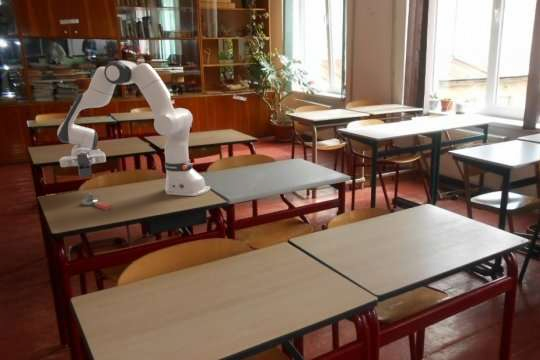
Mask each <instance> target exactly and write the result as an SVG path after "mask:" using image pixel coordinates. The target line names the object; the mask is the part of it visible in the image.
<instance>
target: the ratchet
mask: <svg viewBox="0 0 540 360" xmlns="http://www.w3.org/2000/svg"><path fill="white" fill-rule="evenodd" d="M85 196H86V197H85V198H84V199H82V200H81V204H82V206H83V207H90V206H92V207H95V208H99V209H101V210H104V211H107V210H108V211H109V210H111V209H112V208H113V207H112V204H109V203H106V202H102V201H99V198H98V197H94V195H93V192H89V193H85Z"/></svg>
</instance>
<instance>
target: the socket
mask: <svg viewBox="0 0 540 360" xmlns="http://www.w3.org/2000/svg"><path fill="white" fill-rule="evenodd" d="M77 160H78V166H77V168H78V175H79V177H80V178H86V177H93V171H92V166H91V165H92V164H90V158H89V153H81V154H77Z"/></svg>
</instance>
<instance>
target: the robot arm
mask: <svg viewBox="0 0 540 360" xmlns="http://www.w3.org/2000/svg"><path fill="white" fill-rule="evenodd" d="M133 84H135V85H136V86H137V87H138V89H139V90H140V92H141V94H142V95H143V97H144V98H145V100H146V102H147V103H148V105H149V107H150V109H151V112H152V114H153V118H154V121H153V127H154V130H155V131H156V132H157V133H158V135H161V136H167V138H166V141H165V143H164V158H165V161H164V168H165V172H166V176H165V177H166V178H165V188H164V191H165V194H166V195H169V196H171V195H172V196H186V197H187V196H188V197H197V196H200V195H203V194H206V193H207V192H210V190H211V186H209V185H206V181H205V178H204V177H203V176H202V175H201V174H200V173H198V171H197V170H195V169H194V168H193V166H194V165H195V163H194V162H192V163H191V161H190V159H189V139H190V130H191V125H192V124H193V120H194V118H193V114H192V113H191V111H190V110H189V109H186V108H182V107H177V108H176V107H174V105H173V103H172V100H171V92H170V90H168V87H167V86H166V85H165V82H164V81H163V80H162V78H161V76H159V74H158V73H157V71H156V70H155V69H154V68H153V67H152V65H151V64H149V63H146V62H142V63H137V62H136V61H133V60H130V61H129V60H125V59H124V60H113V61H110V62H109V63H107V64H106V65H105V66H99V67H98V68H96V70H95V72H94V74H93V76H92V78H91V80H90V82H89V87H88V88H87V89H86V90H85V91H84V92H83V93H79V94H78V95H77V97H76V98H75V100H74V101H73V103H72V105H71V107H70V108H69V111H68V112H67V114H66V116H65V118H64V119H63V121H62V123H61V124H60V125H59V126H58V128H57V132H56V133H57V135H56V137H57V138H58V140H59V141H60V142H61V143H65V144H71V145H73V147H72V148H71V153H70V154H71V155H68V156H61V157H60V158H59V159H58V162H59V165H60V167H61V168H66V167H67V168H68V167H78V160H77V154H81V153H89V158H90V165H94V164H100V163H101V164H102V163H106V162H107V157H106V153H105V152H104V151H101V149H100V148H97V145H98V142H99V141H98V140H99V135H98V133H97V131H96V130H95V129H93V128H89V127H87V126H86V127H85V126H81V125H78V124H76V123H75V120H76V119H77V117H78V115H79V113H80V112H81V111H82V110H85V109H94V108H102V107H104V106H107V105H108V104H109V103H110V102H111V99H112V97H113V94H114V92H115V88H116V87H117V85H119V86H121V85H123V86H124V85H125V86H126V85H133Z"/></svg>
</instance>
